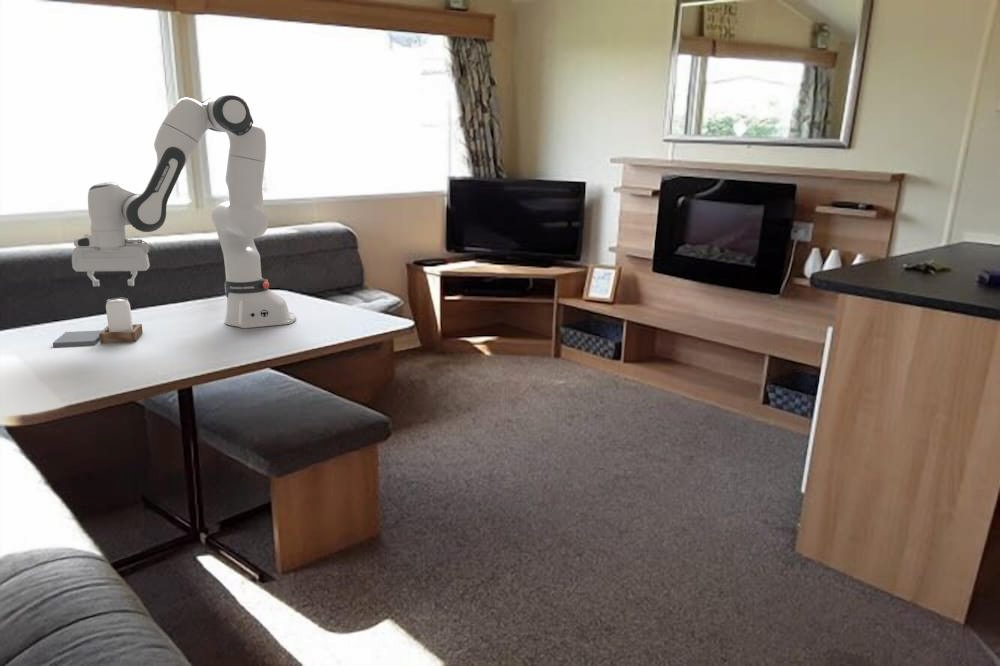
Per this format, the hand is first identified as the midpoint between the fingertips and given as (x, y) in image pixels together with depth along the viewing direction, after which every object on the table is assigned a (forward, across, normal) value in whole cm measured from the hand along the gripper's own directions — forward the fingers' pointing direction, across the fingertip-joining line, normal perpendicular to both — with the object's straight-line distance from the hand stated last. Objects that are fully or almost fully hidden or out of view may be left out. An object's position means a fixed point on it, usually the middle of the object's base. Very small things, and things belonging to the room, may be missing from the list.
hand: (113, 285), depth 218 cm
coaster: (+16, +11, 0) cm, 20 cm away
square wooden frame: (+16, -1, 0) cm, 16 cm away
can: (+16, -1, 0) cm, 17 cm away
